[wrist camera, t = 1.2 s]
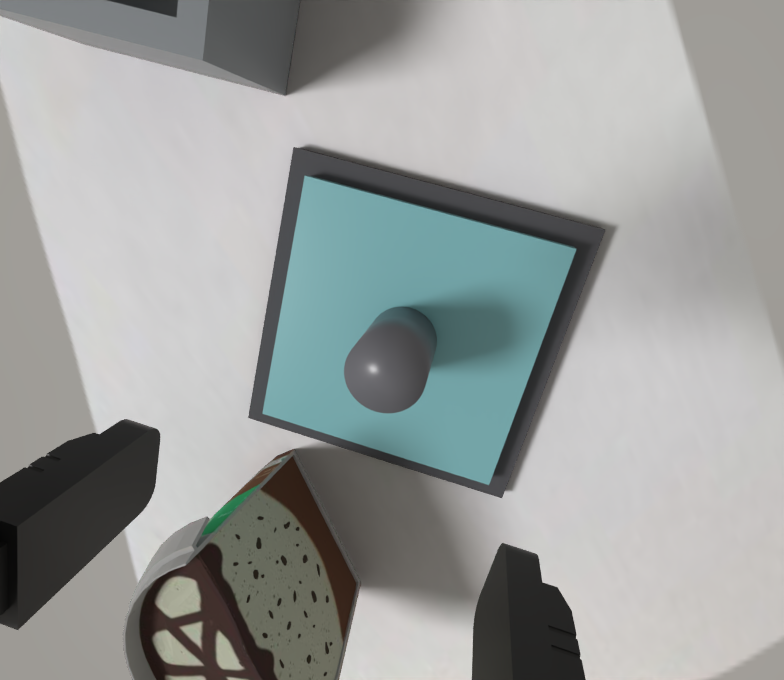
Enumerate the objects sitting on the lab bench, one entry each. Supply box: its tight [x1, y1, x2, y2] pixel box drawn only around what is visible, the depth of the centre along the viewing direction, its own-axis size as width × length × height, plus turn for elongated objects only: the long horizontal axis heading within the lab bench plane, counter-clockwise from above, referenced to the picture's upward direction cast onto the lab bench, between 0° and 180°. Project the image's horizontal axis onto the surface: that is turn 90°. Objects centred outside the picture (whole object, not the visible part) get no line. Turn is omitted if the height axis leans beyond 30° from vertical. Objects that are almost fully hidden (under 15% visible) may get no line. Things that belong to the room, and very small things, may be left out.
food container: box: [123, 449, 361, 680], centre depth 25 cm, size 12×6×10 cm, turn 22°
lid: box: [262, 176, 576, 485], centre depth 22 cm, size 12×12×5 cm
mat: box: [248, 147, 605, 498], centre depth 24 cm, size 14×14×1 cm
